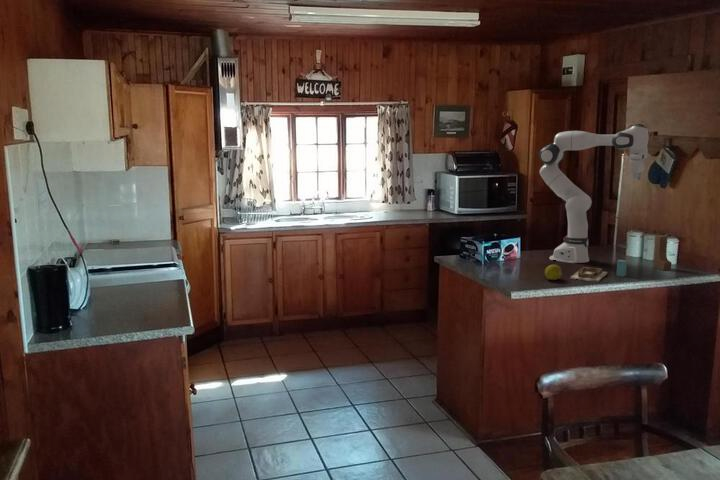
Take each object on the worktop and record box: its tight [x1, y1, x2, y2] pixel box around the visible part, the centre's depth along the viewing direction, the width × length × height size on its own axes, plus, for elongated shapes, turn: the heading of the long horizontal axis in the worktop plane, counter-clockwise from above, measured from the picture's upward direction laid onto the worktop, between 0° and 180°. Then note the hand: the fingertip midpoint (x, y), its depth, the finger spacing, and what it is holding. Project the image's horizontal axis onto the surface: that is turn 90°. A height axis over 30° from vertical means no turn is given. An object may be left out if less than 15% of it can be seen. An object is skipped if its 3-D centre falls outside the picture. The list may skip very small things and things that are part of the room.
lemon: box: [544, 264, 563, 281], centre depth 325 cm, size 11×8×8 cm
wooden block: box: [653, 234, 672, 271], centre depth 343 cm, size 9×4×18 cm, turn 12°
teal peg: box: [615, 259, 628, 278], centre depth 331 cm, size 4×4×8 cm
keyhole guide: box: [569, 266, 608, 283], centre depth 331 cm, size 14×20×3 cm
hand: (637, 180), depth 344 cm, fingers open, 8 cm apart
